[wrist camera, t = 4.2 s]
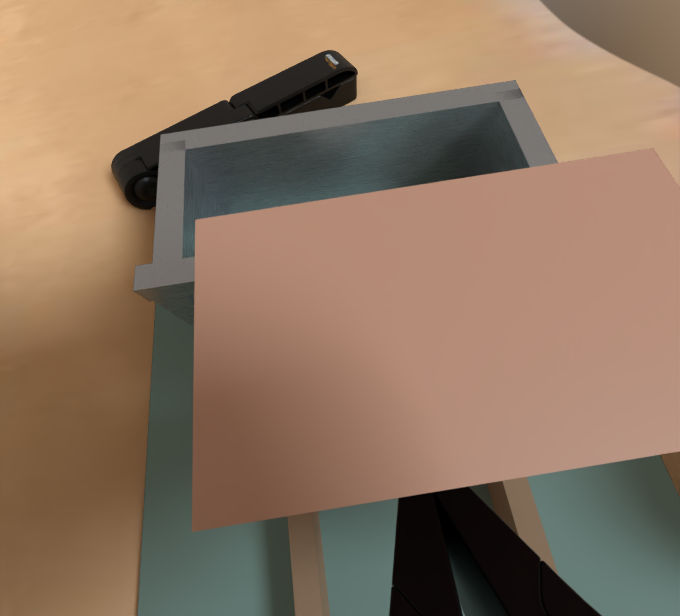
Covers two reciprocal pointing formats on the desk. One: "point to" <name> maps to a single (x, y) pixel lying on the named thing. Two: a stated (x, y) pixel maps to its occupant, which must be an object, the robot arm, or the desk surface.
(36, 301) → the desk surface
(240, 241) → the salmon orange block
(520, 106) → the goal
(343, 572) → the plate
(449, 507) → the robot arm
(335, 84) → the portable electronic device stand
